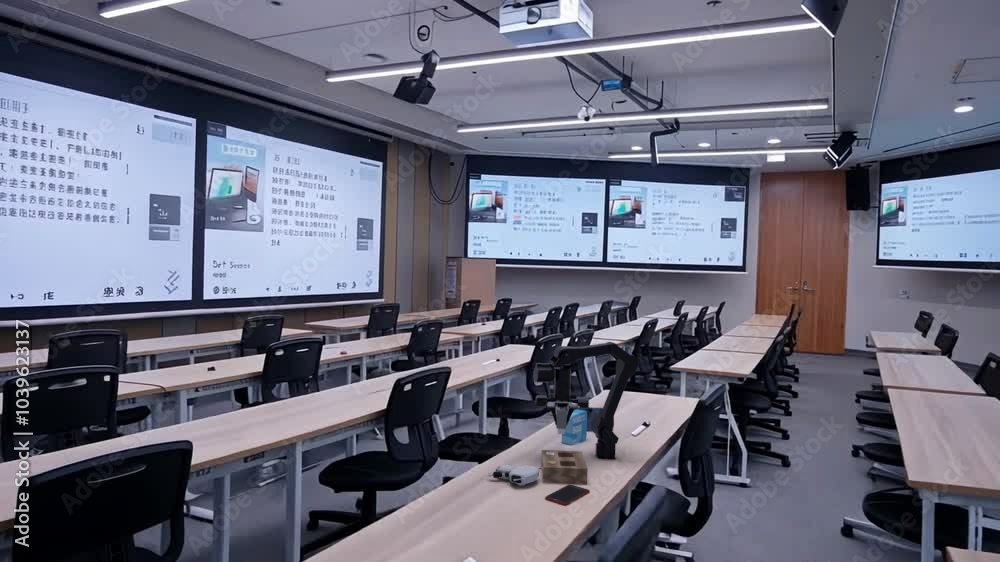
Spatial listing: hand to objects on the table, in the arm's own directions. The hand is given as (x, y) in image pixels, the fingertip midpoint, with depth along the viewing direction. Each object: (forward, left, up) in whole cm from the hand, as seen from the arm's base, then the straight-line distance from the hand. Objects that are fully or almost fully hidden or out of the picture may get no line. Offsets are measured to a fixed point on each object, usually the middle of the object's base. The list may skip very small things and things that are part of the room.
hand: (561, 425), depth 214 cm
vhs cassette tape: (-14, -39, -13) cm, 44 cm away
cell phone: (0, +34, -13) cm, 36 cm away
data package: (-7, -22, -13) cm, 27 cm away
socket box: (0, +15, -12) cm, 19 cm away
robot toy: (+16, +22, -13) cm, 30 cm away
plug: (0, 0, -3) cm, 3 cm away
